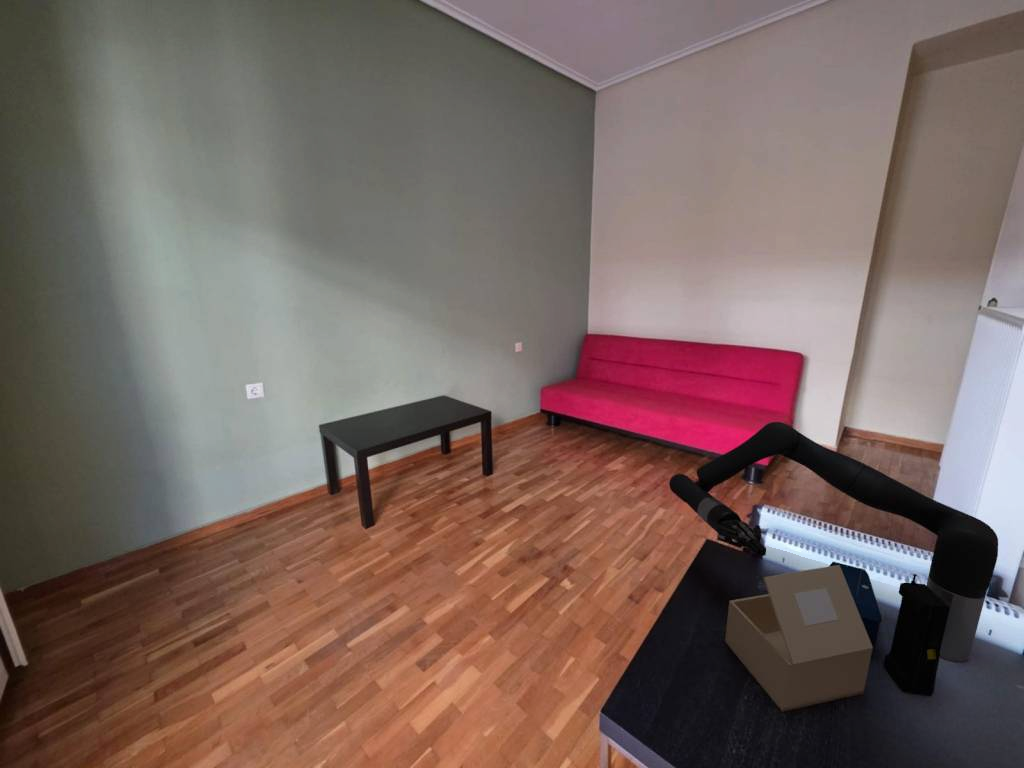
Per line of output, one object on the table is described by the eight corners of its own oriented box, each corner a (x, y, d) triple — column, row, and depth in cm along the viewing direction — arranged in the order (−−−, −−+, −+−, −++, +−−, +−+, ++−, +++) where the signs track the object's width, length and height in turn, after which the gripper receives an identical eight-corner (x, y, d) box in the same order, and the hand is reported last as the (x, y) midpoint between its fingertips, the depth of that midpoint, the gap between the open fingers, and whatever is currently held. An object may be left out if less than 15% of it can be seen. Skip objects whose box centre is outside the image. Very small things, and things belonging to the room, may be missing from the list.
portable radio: (939, 702, 88) (964, 601, 82) (905, 697, 89) (928, 597, 83) (912, 669, 95) (934, 574, 89) (881, 665, 96) (901, 571, 91)
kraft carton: (725, 641, 104) (729, 600, 101) (794, 628, 107) (800, 588, 105) (782, 711, 87) (789, 664, 84) (863, 693, 90) (872, 647, 87)
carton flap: (763, 577, 90) (764, 577, 90) (837, 565, 93) (839, 565, 93) (791, 663, 84) (794, 664, 83) (870, 647, 87) (873, 647, 87)
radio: (878, 663, 97) (893, 589, 92) (831, 647, 102) (843, 576, 97) (862, 605, 114) (875, 540, 110) (823, 593, 119) (833, 531, 114)
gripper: (698, 506, 117) (741, 543, 101) (739, 501, 119) (788, 536, 103) (695, 530, 119) (737, 569, 102) (737, 524, 121) (784, 562, 105)
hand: (763, 552), depth 103 cm, fingers closed
